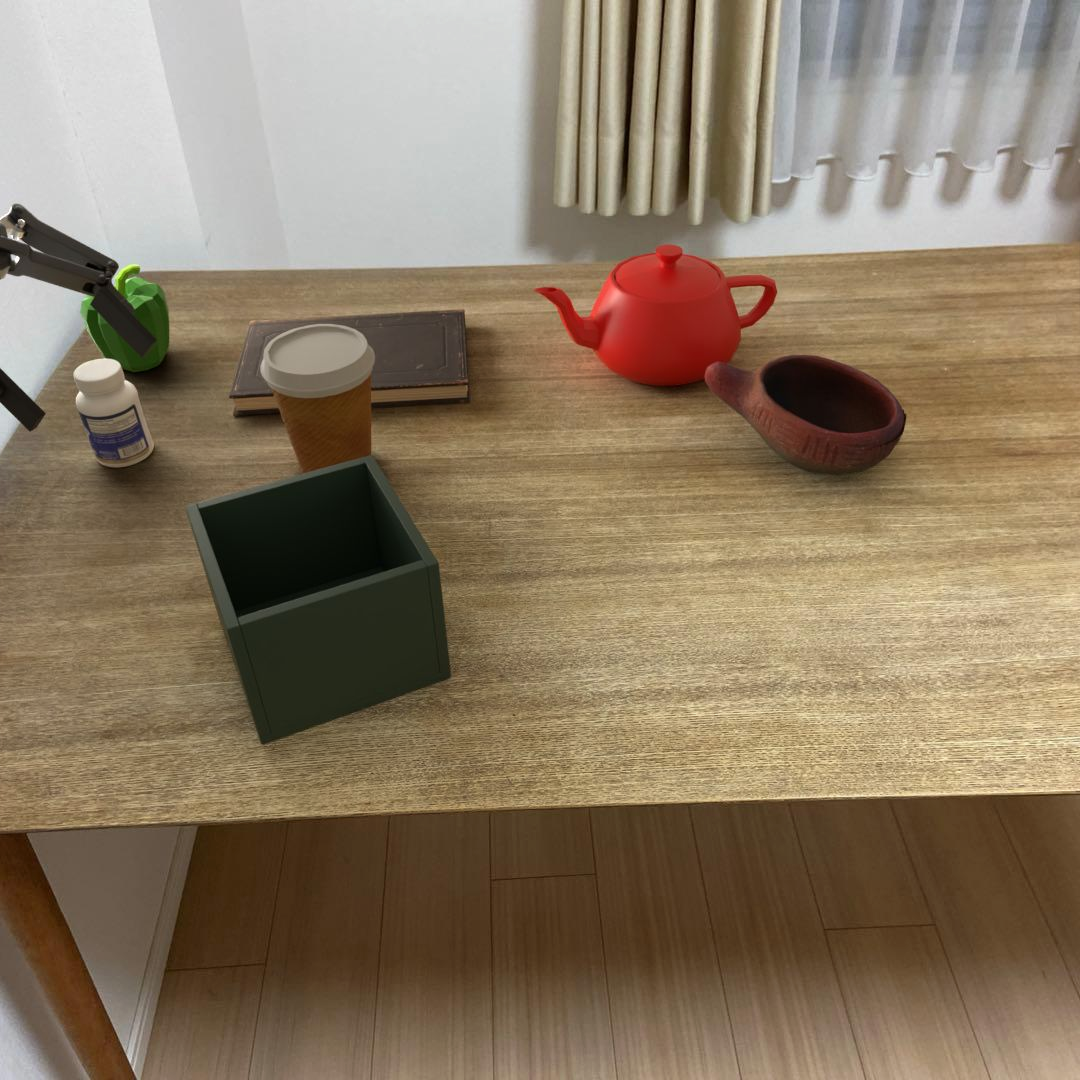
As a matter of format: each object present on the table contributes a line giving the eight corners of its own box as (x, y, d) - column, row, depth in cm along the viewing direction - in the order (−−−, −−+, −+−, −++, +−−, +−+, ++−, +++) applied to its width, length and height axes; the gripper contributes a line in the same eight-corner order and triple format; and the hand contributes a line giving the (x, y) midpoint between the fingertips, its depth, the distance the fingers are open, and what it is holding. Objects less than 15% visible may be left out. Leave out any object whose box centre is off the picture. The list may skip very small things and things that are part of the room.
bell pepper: (109, 389, 103) (79, 298, 97) (92, 355, 109) (62, 267, 103) (191, 366, 107) (167, 277, 100) (170, 334, 112) (146, 248, 106)
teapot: (743, 314, 113) (755, 207, 105) (796, 385, 101) (815, 271, 94) (522, 339, 110) (518, 230, 102) (551, 415, 98) (549, 299, 90)
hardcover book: (469, 402, 100) (468, 382, 99) (233, 416, 99) (228, 395, 98) (465, 325, 113) (464, 306, 111) (255, 337, 111) (251, 317, 110)
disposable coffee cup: (377, 428, 97) (361, 313, 89) (399, 484, 90) (383, 365, 82) (277, 447, 95) (251, 331, 87) (290, 507, 88) (264, 386, 80)
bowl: (854, 410, 98) (870, 335, 93) (917, 488, 88) (938, 409, 83) (693, 430, 96) (700, 355, 91) (739, 512, 86) (750, 433, 81)
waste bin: (261, 745, 68) (226, 629, 61) (219, 617, 77) (184, 505, 70) (451, 677, 72) (438, 562, 65) (389, 565, 82) (372, 454, 75)
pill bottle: (102, 439, 96) (73, 356, 91) (159, 434, 97) (133, 352, 91) (90, 471, 92) (58, 387, 87) (149, 467, 93) (121, 382, 87)
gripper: (12, 170, 97) (175, 341, 102) (-236, 277, 80) (-28, 477, 84) (34, 119, 92) (204, 302, 96) (-227, 222, 75) (-5, 438, 79)
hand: (97, 384), depth 90 cm, fingers open, 13 cm apart
